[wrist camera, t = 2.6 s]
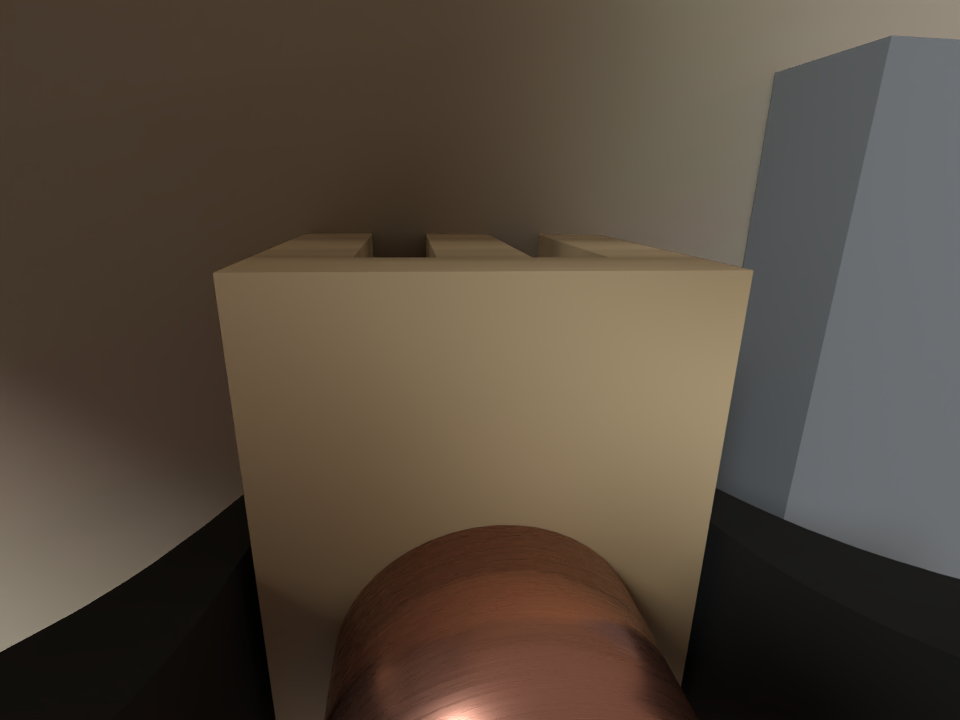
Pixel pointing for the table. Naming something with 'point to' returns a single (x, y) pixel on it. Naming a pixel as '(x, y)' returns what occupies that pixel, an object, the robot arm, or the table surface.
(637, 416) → the tan rectangular block
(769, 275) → the loading dock
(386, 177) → the table surface
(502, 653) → the brown rounded piece
